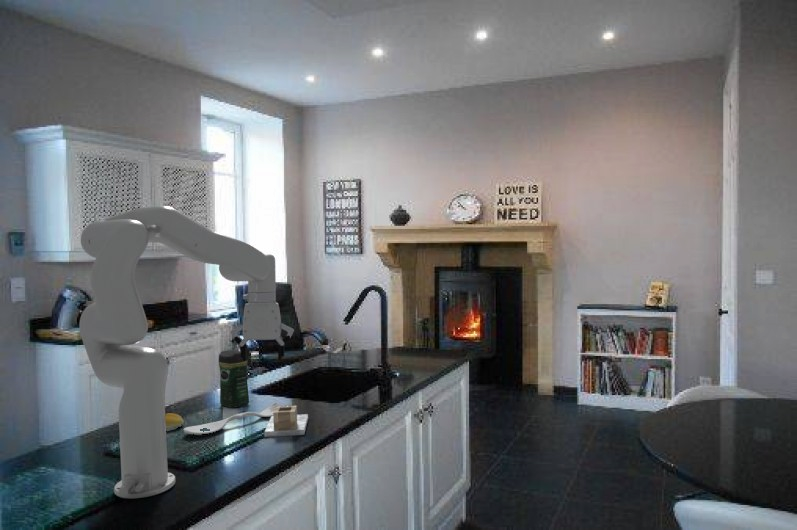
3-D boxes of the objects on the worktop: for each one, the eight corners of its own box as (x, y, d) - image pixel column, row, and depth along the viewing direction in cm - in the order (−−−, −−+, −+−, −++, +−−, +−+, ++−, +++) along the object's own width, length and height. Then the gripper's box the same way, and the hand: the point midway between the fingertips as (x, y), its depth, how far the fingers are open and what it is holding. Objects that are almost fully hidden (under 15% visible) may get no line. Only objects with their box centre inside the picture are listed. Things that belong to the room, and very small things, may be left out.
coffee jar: (253, 404, 199) (251, 349, 198) (233, 409, 192) (231, 353, 192) (235, 400, 205) (233, 347, 204) (216, 405, 198) (214, 351, 198)
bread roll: (154, 434, 170) (153, 420, 170) (155, 425, 178) (154, 412, 178) (184, 430, 173) (183, 417, 173) (183, 422, 181) (183, 409, 181)
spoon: (291, 417, 183) (291, 406, 183) (191, 442, 162) (191, 430, 162) (276, 411, 190) (276, 401, 190) (178, 435, 169) (178, 423, 168)
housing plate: (304, 434, 165) (303, 415, 165) (264, 436, 164) (264, 417, 164) (308, 419, 180) (307, 401, 180) (271, 420, 179) (271, 403, 179)
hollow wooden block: (295, 428, 166) (294, 411, 165) (273, 430, 165) (273, 412, 165) (297, 422, 172) (296, 405, 171) (276, 423, 171) (275, 406, 171)
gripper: (227, 299, 159) (228, 362, 159) (291, 298, 160) (292, 361, 160) (233, 298, 166) (234, 358, 166) (294, 297, 167) (295, 356, 168)
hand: (262, 359), depth 163 cm, fingers open, 9 cm apart
